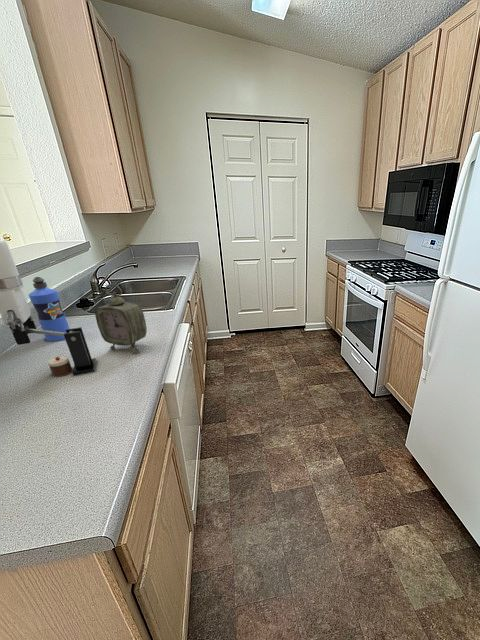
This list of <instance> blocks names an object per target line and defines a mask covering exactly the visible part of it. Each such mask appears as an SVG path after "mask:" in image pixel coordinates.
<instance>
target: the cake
mask: <svg viewBox="0 0 480 640" xmlns="http://www.w3.org/2000/svg"><path fill="white" fill-rule="evenodd" d="M47 364H48V367H49V370H50V372H51V374H52V376H53V377H62V376H67V375H69V374H70V373H73V366H72V365H71V362H70V359H69V357H68V356H63V355H62V356H56V357H53V358H51V359H49V360H48V361H47Z"/></svg>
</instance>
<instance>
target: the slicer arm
mask: <svg viewBox="0 0 480 640" xmlns="http://www.w3.org/2000/svg"><path fill="white" fill-rule="evenodd" d="M24 330H26V332H29V333H30V334H39V335H44V334H47V335H55V336H64V333H63V332H55V331H47V330H42V329H37V328H36V329H30V328H29V327H28V326H27V325H24ZM70 332H77V331H70ZM70 332H69V333H70Z"/></svg>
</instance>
